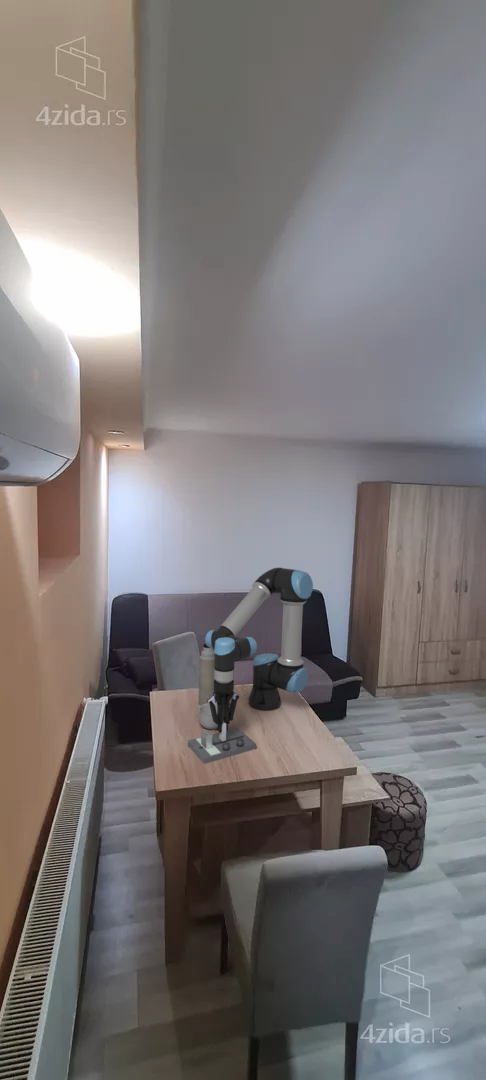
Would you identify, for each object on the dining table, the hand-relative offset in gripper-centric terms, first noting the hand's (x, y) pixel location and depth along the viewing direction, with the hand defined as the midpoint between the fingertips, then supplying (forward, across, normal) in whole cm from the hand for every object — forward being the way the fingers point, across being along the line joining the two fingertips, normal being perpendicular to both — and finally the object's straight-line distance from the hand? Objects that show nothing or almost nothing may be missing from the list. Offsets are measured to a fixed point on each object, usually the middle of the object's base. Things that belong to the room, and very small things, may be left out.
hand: (222, 739), depth 176 cm
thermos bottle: (+3, -12, -37) cm, 39 cm away
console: (+3, 0, 0) cm, 3 cm away
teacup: (+3, -5, -18) cm, 19 cm away
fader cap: (+1, +7, 0) cm, 7 cm away
